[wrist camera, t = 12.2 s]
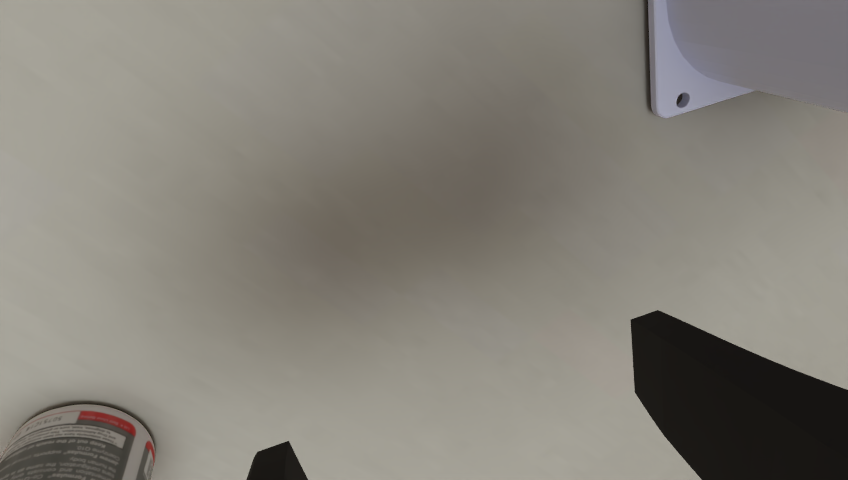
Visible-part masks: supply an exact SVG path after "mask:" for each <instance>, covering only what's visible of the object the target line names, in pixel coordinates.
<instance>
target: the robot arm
mask: <svg viewBox="0 0 848 480" xmlns="http://www.w3.org/2000/svg"><path fill="white" fill-rule="evenodd" d="M648 15H649V49H650V84H651V108H652V111H653V113H654V114H655V115H657V116H660V117H663V118H670V117H673V116H676V115H680V114H683V113H686V112H689V111H692V110H696V109H699V108H702V107H705V106H708V105H711V104H715V103H718V102H721V101H724V100H727V99H731V98H734V97H737V96H740V95H743V94H747V93H750V92H753V91H756V90H757V91H761V92H765V93H769V94H773V95H777V96H781V97H785V98H789V99H793V100H797V101H801V102H805V103H809V104H813V105H817V106H821V107H825V108H829V109H833V110H837V111H841V112H846V113H848V0H648ZM680 94H682V95H683V96H682V100H681V101H680V103H679V104H676V101H677V98H678V96H679V95H680ZM631 333H632V350H633V367H634V384H635V393H636V395H637V396H638V398H639V399H640V401H641V402H642V404H643V405H644V407H645V408H646V410H647V411H648V413H649V415H650V416H651V417H652V419H653V420H654V422H655V423H656V425H657V426H658V428H659V429H660V430H661V432H662V433H663V435H664V436H665V437H666V438H667V440H668V441H669V442H670V443H671V444H672V445H673V447H674V448H675V449H676V450H677V451H678V452H679V454H680V455H681V456H682V457H683V458H684V459H685V461H686V462H687V463H688V464H689V465H690V466H691V468H692V469H693V470H694V471H695V472H696V473H697V475H698V476H699V477H700V478H701V479H702V480H848V390H846V389H843V388H840V387H838V386H835V385H832V384H830V383H827V382H824V381H822V380H819V379H816V378H814V377H811V376H808V375H806V374H803V373H801V372H798V371H795V370H793V369H790V368H788V367H786V366H783V365H781V364H778V363H776V362H773V361H771V360H769V359H766V358H764V357H761V356H759V355H757V354H754V353H752V352H750V351H748V350H745V349H743V348H741V347H738V346H736V345H734V344H732V343H729V342H727V341H725V340H723V339H721V338H718V337H716V336H714V335H712V334H710V333H707V332H705V331H703V330H701V329H699V328H697V327H694V326H692V325H690V324H688V323H686V322H683V321H681V320H679V319H677V318H675V317H672V316H670V315H668V314H665V313H663V312H661V311H658V310H657V311H654V312H651V313H648V314H646V315H643V316H640V317H637V318H634V319H631ZM247 480H308V479H307V477H306V475H305V473H304V471H303V469H302V467H301V465H300V463H299V461H298V459H297V457H296V455H295V453H294V451H293V449H292V447H291V445H290V443H289V441H287V442H284V443H281V444H279V445H276V446H273V447H270V448H267V449H264V450H262V451H259V452H257V454H256V455H255V457H254V459H253V462H252V465H251V468H250V471H249V474H248V477H247Z"/></svg>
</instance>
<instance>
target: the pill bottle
mask: <svg viewBox="0 0 848 480" xmlns="http://www.w3.org/2000/svg"><path fill="white" fill-rule="evenodd" d="M154 462H155V448H154V444H153V441H152V439H151V437H150V435H149V433H148V432H147V430H146V429H145V428H144V427H143V425H142V424H141V423H139V422H138V421H137V420H136V419H134V418H133V417H131V416H130V415H128V414H126V413H124V412H122V411H120V410H117V409H114V408H110V407H106V406H101V405H92V404H81V405H71V406H65V407H61V408H56V409H52V410H49V411H46V412H44V413H42V414H39V415H38V416H36V417H34V418H32V419H31V420H29V421H28V422H26V423H25V424H24V425H23V426H22V427H21V428H20V429H19V430H18V431H17V432H16V434H15V435H14V436H13V438H12V440H11V441H10V443H9V445H8V446H7V448H6V450H5V452H4V454H3V456H2V457H1V459H0V480H150V479H151V474H152V470H153V466H154Z"/></svg>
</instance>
